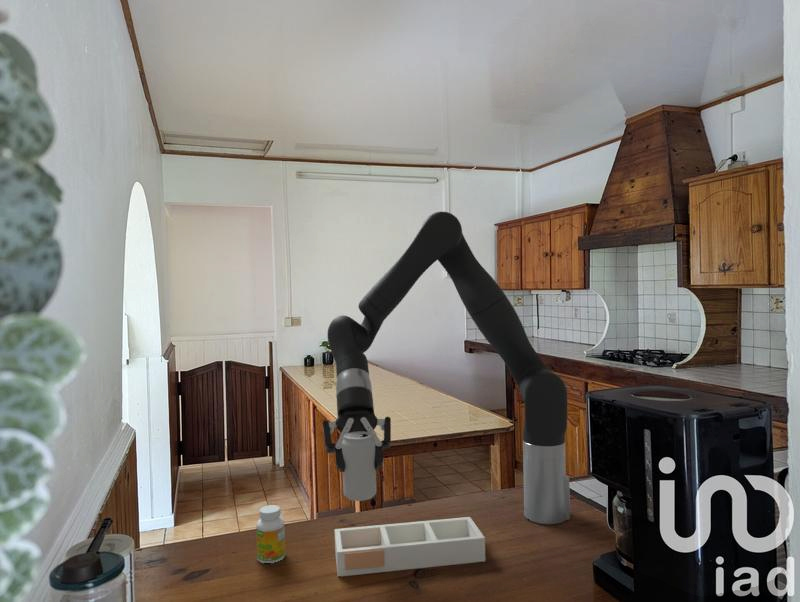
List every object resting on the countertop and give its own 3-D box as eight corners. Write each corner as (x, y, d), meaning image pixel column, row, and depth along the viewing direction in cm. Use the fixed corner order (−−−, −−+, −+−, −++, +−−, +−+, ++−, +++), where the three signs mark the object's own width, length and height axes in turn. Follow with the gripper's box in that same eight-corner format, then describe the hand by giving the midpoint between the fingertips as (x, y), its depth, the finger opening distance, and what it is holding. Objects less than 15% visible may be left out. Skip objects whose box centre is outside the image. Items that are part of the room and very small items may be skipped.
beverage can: (375, 502, 104) (373, 438, 104) (341, 502, 105) (339, 439, 104) (377, 489, 111) (376, 429, 110) (345, 490, 111) (344, 430, 111)
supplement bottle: (251, 562, 108) (250, 512, 108) (267, 549, 113) (265, 502, 113) (275, 566, 106) (274, 515, 106) (290, 553, 111) (289, 505, 111)
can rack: (470, 538, 116) (470, 516, 116) (486, 562, 106) (485, 538, 106) (335, 551, 111) (334, 529, 111) (337, 577, 101) (337, 553, 101)
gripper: (319, 386, 113) (321, 462, 102) (389, 383, 116) (399, 456, 104) (320, 407, 119) (322, 480, 107) (387, 403, 121) (396, 475, 110)
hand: (360, 468), depth 106 cm, fingers closed on beverage can, 6 cm apart
